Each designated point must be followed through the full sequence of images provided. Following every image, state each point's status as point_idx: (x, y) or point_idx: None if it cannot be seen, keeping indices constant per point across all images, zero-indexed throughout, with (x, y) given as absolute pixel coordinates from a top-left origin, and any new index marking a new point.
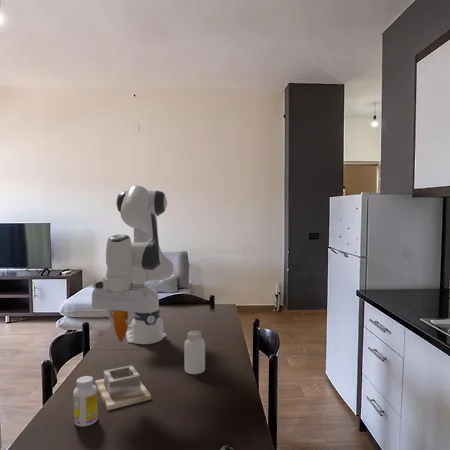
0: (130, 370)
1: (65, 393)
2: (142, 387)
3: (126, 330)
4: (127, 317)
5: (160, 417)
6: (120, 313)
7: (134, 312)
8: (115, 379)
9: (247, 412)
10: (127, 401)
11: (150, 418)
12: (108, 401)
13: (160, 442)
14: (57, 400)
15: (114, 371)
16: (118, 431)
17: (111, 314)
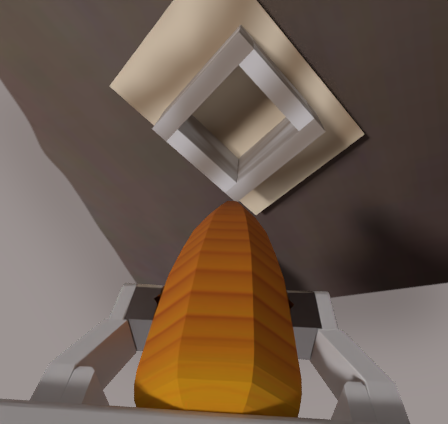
0: (257, 84)
1: (76, 158)
2: (316, 90)
3: (270, 244)
4: (293, 339)
5: (411, 207)
6: None
7: (397, 396)
8: (242, 181)
9: None
10: (299, 181)
11: (384, 215)
12: (245, 197)
13: (425, 279)
14: (91, 194)
15: (193, 111)
16: (322, 266)
17: (109, 361)
